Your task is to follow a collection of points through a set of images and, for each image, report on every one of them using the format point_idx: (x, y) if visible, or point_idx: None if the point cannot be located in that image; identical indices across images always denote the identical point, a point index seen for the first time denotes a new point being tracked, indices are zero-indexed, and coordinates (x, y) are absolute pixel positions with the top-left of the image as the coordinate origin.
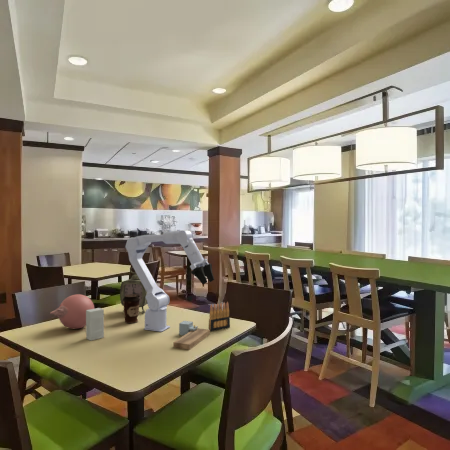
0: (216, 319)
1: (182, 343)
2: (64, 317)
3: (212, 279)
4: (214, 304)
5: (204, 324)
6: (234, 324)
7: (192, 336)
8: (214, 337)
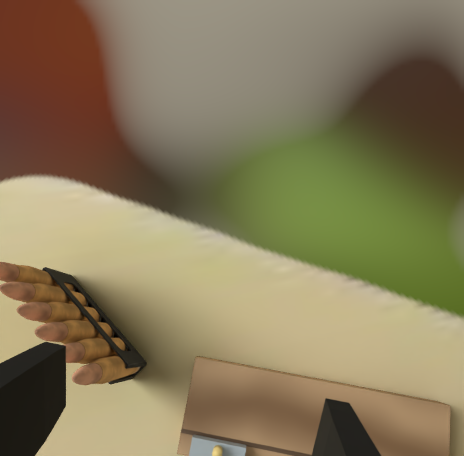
0: (105, 336)
1: (448, 449)
2: None
3: (57, 370)
4: None
5: None
6: (15, 260)
7: None
8: (240, 321)
